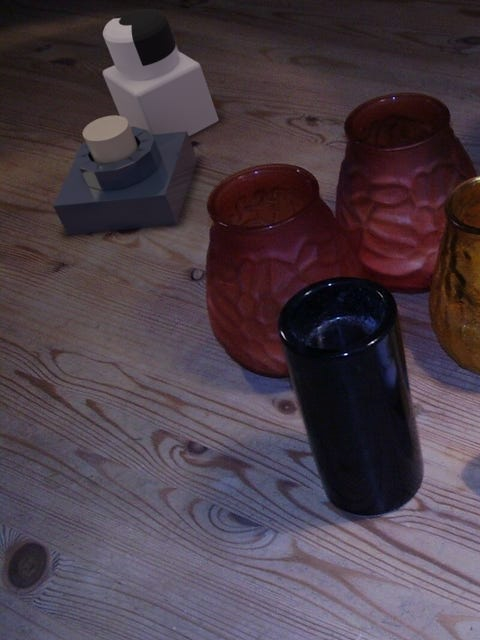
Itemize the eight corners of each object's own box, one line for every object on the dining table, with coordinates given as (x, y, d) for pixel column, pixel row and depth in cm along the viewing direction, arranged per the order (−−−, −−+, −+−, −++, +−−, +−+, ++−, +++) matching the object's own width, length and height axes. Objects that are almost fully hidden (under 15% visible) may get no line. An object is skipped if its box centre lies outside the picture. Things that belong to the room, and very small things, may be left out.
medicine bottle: (186, 103, 105) (147, -7, 96) (222, 126, 101) (184, 14, 92) (126, 133, 102) (80, 23, 93) (160, 158, 98) (116, 46, 89)
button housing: (70, 241, 90) (43, 187, 85) (98, 176, 97) (74, 123, 92) (179, 231, 89) (157, 175, 85) (199, 166, 96) (180, 112, 92)
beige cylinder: (88, 167, 88) (77, 142, 86) (99, 142, 90) (89, 117, 89) (132, 163, 87) (122, 138, 86) (142, 137, 90) (132, 113, 88)
